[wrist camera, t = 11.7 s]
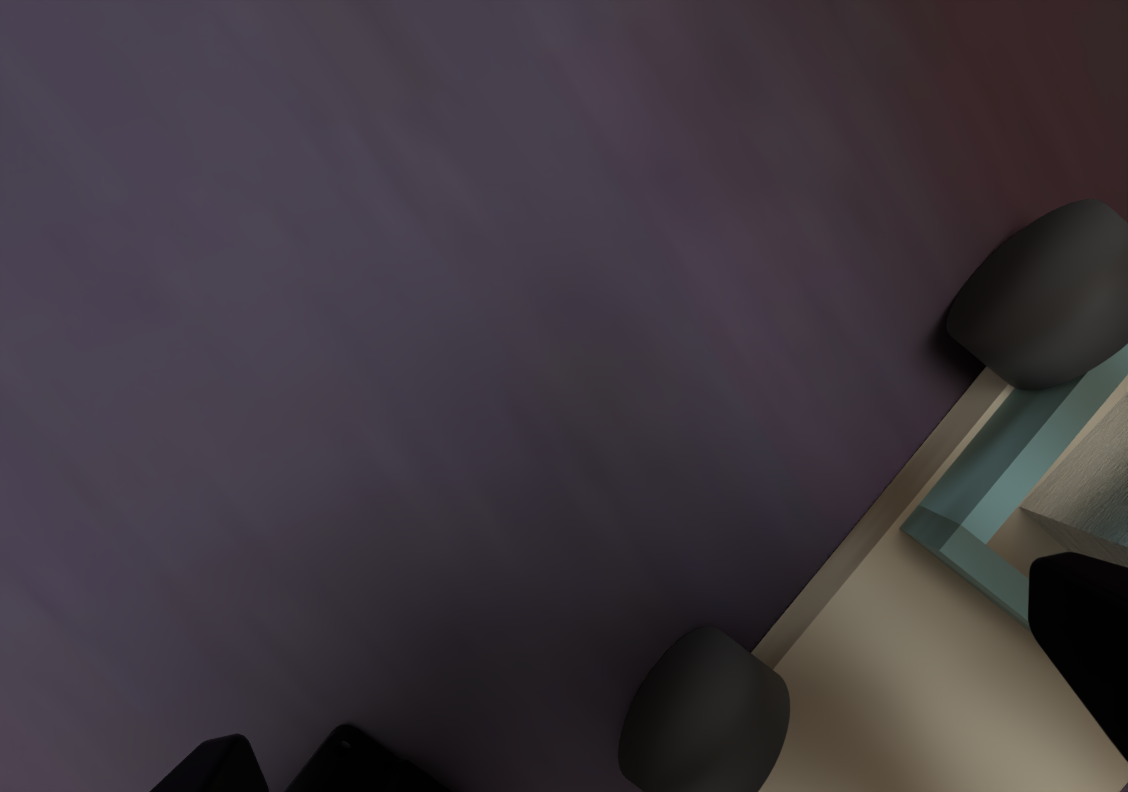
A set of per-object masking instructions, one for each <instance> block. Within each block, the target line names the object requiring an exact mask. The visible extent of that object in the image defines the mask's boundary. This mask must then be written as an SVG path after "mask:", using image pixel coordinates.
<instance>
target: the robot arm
mask: <svg viewBox="0 0 1128 792" xmlns="http://www.w3.org/2000/svg"><path fill="white" fill-rule="evenodd" d="M1028 622H1029V627H1030V630H1031V632H1032V634H1033V636H1034V638H1035V640H1036V641H1037V643H1038V644H1039V646H1040V647H1041V648H1042V650H1043V651H1044V652H1045V654H1046V655H1047V656H1048V658H1049V659H1050V660H1051V662H1052V663H1053V664H1054V666H1055V667H1056V668H1057V670H1058V671H1059V673H1060V674H1061V675H1062V677H1063V678H1064V679H1065V681H1066V682H1067V683H1068V685H1069V686H1070V687H1071V689H1072V690H1073V691H1074V693H1075V694H1076V695H1077V697H1078V698H1079V699H1080V701H1081V702H1082V703H1083V705H1084V706H1085V707H1086V709H1087V710H1088V711H1089V713H1090V714H1091V715H1092V717H1093V718H1094V719H1095V721H1096V722H1097V723H1098V725H1099V726H1100V728H1101V729H1102V730H1103V732H1104V733H1105V734H1106V736H1107V737H1108V738H1109V740H1110V741H1111V742H1112V743H1113V745H1114V746H1115V747H1116V749H1117V750H1118V751H1119V752H1120V754H1121V755H1122V756H1123V757H1124V759H1125V760H1126V761H1127V762H1128V567H1125V566H1122V565H1118V564H1115V563H1111V562H1108V561H1104V560H1101V559H1097V558H1094V557H1090V556H1087V555H1083V554H1079V553H1076V552H1062V553H1057V554H1053V555H1048V556H1043V557H1039V558H1037V559H1035V560H1034V561H1033V562H1032V564H1031V566H1030V569H1029V592H1028ZM338 741H346V742H348V743H349V744H350V746H351V749H348V750H344V749H341V748H340V747H339V746H338V744H337V742H338ZM150 792H269V789H268V786H267V783H266V781H265V778H264V776H263V774H262V771H261V769H260V766H259V764H258V762H257V759H256V757H255V755H254V752H253V750H252V747H251V745H250V743H249V741H248V739H247V738H246V737H245V736H243V735H241V734H233V735H228V736H224V737H219V738H214V739H210V740H207V741H205V742H203V743H201V744H200V745H199V746H198V747H197V748H196V749H194V750H193V751H192V752H191V753H190V754H189V755H188V756H187V757H186V758H185V759H184V760H183V761H182V762H181V763H180V764H179V765H177V766H176V767H175V768H174V769H173V770H172V771H171V772H170V773H169V774H168V775H167V776H166V777H165V778H164V779H163V780H162V781H160V782H159V783H158V784H157V785H156V786H155V787H154V788H153V789H152V790H151V791H150ZM285 792H452V791H451V790H449V789H448V788H446V787H445V786H444V785H442V784H441V783H439V782H438V781H437V780H435V779H434V778H432V777H431V776H430V775H428V774H427V773H425V772H424V771H423V770H421V769H420V768H418V767H417V766H416V765H414V764H413V763H411V762H410V761H408V760H401V759H399V758H398V757H396V756H395V755H394V754H392V753H391V752H389V751H388V750H387V749H385V748H384V747H382V746H381V745H380V744H378V743H377V742H375V741H374V740H373V739H371V738H370V737H368V736H367V735H365V734H364V733H363V732H361V731H360V730H358V729H357V728H355V727H353V726H351V725H341V726H338V727H336V728H335V729H334V730H333V731H332V732H331V733H330V734H329V736H328V737H327V738H326V739H325V741H324V742H323V743H322V744H321V746H320V747H319V748H318V750H317V751H316V752H315V753H314V755H313V756H312V757H311V758H310V760H309V761H308V762H307V764H306V765H305V766H304V767H303V769H302V770H301V771H300V772H299V774H298V775H297V776H296V778H295V779H294V780H293V781H292V783H291V784H290V785H289V786H288V788H287V789H286V790H285Z"/></svg>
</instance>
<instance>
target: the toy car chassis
mask: <svg viewBox="0 0 1128 792" xmlns="http://www.w3.org/2000/svg"><path fill="white" fill-rule="evenodd" d="M947 331H948V333H949V335H950V336H951V337H952V338H953V339H955V340H956V341H957V342H958V343H959V344H961V345H962V346H963V347H964V348H966V349H967V350H968V351H969V352H970V353H972V354H973V355H974V356H975V357H976V358H978V359H979V360H980V361H981V362H982V363H984V364H985V365H986V367H985V369H984V370H983V371H982V372H981V374H980V375H979V376H978V377H977V378H976V380H975V381H974V382H973V383H972V385H971V386H970V387H969V388H968V389H967V391H966V392H965V393H964V394H963V396H962V397H961V398H960V399H959V400H958V402H957V403H956V404H955V405H954V406H953V408H952V409H951V410H950V411H949V413H948V414H947V415H946V416H945V417H944V419H943V420H942V421H941V422H940V424H939V425H938V426H937V427H936V428H935V430H934V431H933V432H932V433H931V434H930V436H929V437H928V438H927V439H926V441H925V442H924V443H923V444H922V445H921V447H920V448H919V449H918V450H917V452H916V453H915V454H914V455H913V456H912V458H911V459H910V460H909V461H908V462H907V464H906V465H905V466H904V467H903V469H902V470H901V471H900V472H899V473H898V475H897V476H896V477H895V478H894V480H893V481H892V482H891V483H890V484H889V486H888V487H887V488H886V489H885V490H884V492H883V493H882V494H881V495H880V497H879V498H878V499H877V500H876V501H875V503H874V504H873V505H872V506H871V508H870V509H869V510H868V511H867V512H866V514H865V515H864V516H863V517H862V519H861V520H860V521H859V522H858V523H857V525H856V526H855V527H854V528H853V529H852V531H851V532H850V533H849V534H848V536H847V537H846V538H845V539H844V540H843V542H842V543H841V544H840V545H839V547H838V548H837V549H836V550H835V551H834V553H833V554H832V555H831V556H830V557H829V559H828V560H827V561H826V562H825V564H824V565H823V566H822V567H821V568H820V570H819V571H818V572H817V573H816V575H815V576H814V577H813V578H812V579H811V581H810V582H809V583H808V584H807V585H806V587H805V588H804V589H803V590H802V592H801V593H800V594H799V595H798V596H797V598H796V599H795V600H794V601H793V603H792V604H791V605H790V606H789V607H788V609H787V610H786V611H785V612H784V614H783V615H782V616H781V617H780V618H779V620H778V621H777V622H776V623H775V624H774V626H773V627H772V628H771V629H770V631H769V632H768V633H767V634H766V635H765V637H764V638H763V639H762V640H761V642H760V643H759V644H758V645H757V646H756V648H755V649H754V650H753V651H752V652H751V653H750V652H749V651H747V650H746V649H745V648H743V647H742V646H741V645H739V644H738V643H737V642H736V641H734V640H733V639H732V638H730V637H729V636H728V635H726V634H725V633H724V632H722V631H721V630H720V629H718V628H716V627H713V626H706V627H701V628H698V629H696V630H694V631H692V632H690V633H688V634H687V635H685V636H684V637H683V638H681V639H680V640H679V641H677V642H676V643H675V644H674V645H673V646H672V647H671V648H670V649H669V650H668V651H667V652H666V653H665V654H664V655H663V656H662V658H661V659H660V660H659V661H658V662H657V664H656V665H655V666H654V667H653V669H652V670H651V672H650V673H649V675H648V676H647V677H646V679H645V681H644V682H643V684H642V685H641V687H640V689H639V691H638V693H637V694H636V696H635V698H634V700H633V702H632V704H631V707H630V709H629V711H628V714H627V716H626V719H625V722H624V725H623V729H622V732H621V737H620V741H619V749H618V759H619V766H620V770H621V772H622V774H623V775H624V776H625V777H626V778H627V779H628V780H629V781H631V782H632V783H634V784H635V785H636V786H638V787H639V788H640V789H642V790H643V791H645V792H1120V791H1121V789H1122V788H1123V787H1124V786H1125V785H1126V784H1127V783H1128V762H1127V761H1126V760H1125V759H1124V757H1123V756H1122V755H1121V754H1120V752H1119V751H1118V750H1117V749H1116V747H1115V746H1114V745H1113V743H1112V742H1111V741H1110V740H1109V738H1108V737H1107V736H1106V734H1105V733H1104V732H1103V730H1102V729H1101V728H1100V726H1099V725H1098V723H1097V722H1096V721H1095V719H1094V718H1093V717H1092V715H1091V714H1090V713H1089V711H1088V710H1087V709H1086V707H1085V706H1084V705H1083V703H1082V702H1081V701H1080V699H1079V698H1078V697H1077V695H1076V694H1075V693H1074V691H1073V690H1072V689H1071V687H1070V686H1069V685H1068V683H1067V682H1066V681H1065V679H1064V678H1063V677H1062V675H1061V674H1060V673H1059V671H1058V670H1057V668H1056V667H1055V666H1054V664H1053V663H1052V662H1051V660H1050V659H1049V658H1048V656H1047V655H1046V654H1045V652H1044V651H1043V650H1042V648H1041V647H1040V646H1039V644H1038V643H1037V641H1036V640H1035V638H1034V636H1033V634H1032V632H1031V630H1030V627H1029V622H1028V592H1029V569H1030V566H1031V564H1032V562H1033V561H1034V560H1035V559H1037V558H1039V557H1043V556H1048V555H1053V554H1057V553H1062V552H1068V551H1066V550H1065V549H1064V548H1063V547H1062V546H1061V545H1060V544H1059V543H1058V542H1057V541H1056V540H1055V539H1054V538H1053V537H1051V536H1050V535H1049V534H1048V533H1047V532H1046V531H1045V530H1044V529H1043V528H1042V527H1041V526H1040V525H1039V524H1038V523H1036V522H1035V521H1034V520H1033V519H1032V518H1031V517H1030V516H1029V515H1028V514H1027V513H1026V512H1025V511H1024V510H1022V509H1021V508H1020V507H1019V506H1020V505H1021V504H1022V503H1023V502H1024V501H1025V500H1026V499H1027V498H1028V497H1029V496H1030V495H1031V494H1032V493H1033V492H1034V490H1035V489H1036V488H1037V487H1038V486H1039V485H1040V484H1041V483H1042V482H1043V481H1044V480H1045V479H1046V478H1047V477H1048V476H1049V475H1050V474H1051V472H1052V471H1053V470H1054V469H1055V468H1056V467H1057V466H1058V465H1059V464H1060V463H1061V462H1062V461H1063V460H1064V459H1065V458H1066V457H1067V456H1068V454H1069V453H1070V452H1071V451H1072V450H1073V449H1074V448H1075V447H1076V446H1077V445H1078V444H1079V443H1080V442H1081V441H1082V440H1083V439H1084V438H1085V437H1086V435H1087V434H1088V433H1089V432H1090V431H1091V430H1092V429H1093V428H1094V427H1095V426H1096V425H1097V424H1098V423H1099V422H1100V421H1101V420H1102V419H1103V417H1104V416H1105V415H1106V414H1107V413H1108V412H1109V411H1110V410H1111V409H1112V408H1113V407H1114V406H1115V405H1116V404H1117V403H1118V402H1119V401H1120V399H1121V398H1122V397H1123V396H1124V395H1125V394H1126V393H1127V392H1128V223H1127V222H1126V221H1125V220H1124V219H1122V218H1121V217H1120V216H1119V215H1118V214H1117V213H1116V212H1114V211H1113V210H1112V209H1111V208H1110V207H1109V206H1107V205H1106V204H1105V203H1104V202H1102V201H1100V200H1095V199H1086V200H1081V201H1076V202H1073V203H1070V204H1067V205H1064V206H1062V207H1060V208H1057V209H1055V210H1053V211H1051V212H1049V213H1047V214H1046V215H1044V216H1042V217H1040V218H1039V219H1037V220H1035V221H1034V222H1032V223H1031V224H1029V225H1028V226H1026V227H1025V228H1023V229H1022V230H1020V231H1019V232H1018V233H1016V234H1015V235H1014V236H1012V237H1011V238H1010V239H1009V240H1008V241H1006V242H1005V243H1004V244H1003V245H1001V246H1000V247H999V248H998V249H997V250H996V251H995V252H994V253H993V254H992V255H991V256H990V257H988V258H987V259H986V260H985V261H984V262H983V264H982V265H981V266H980V267H979V268H978V269H977V270H976V271H975V272H974V274H973V275H972V276H971V277H970V278H969V280H968V281H967V282H966V283H965V285H964V286H963V288H962V289H961V291H960V292H959V293H958V295H957V297H956V299H955V300H954V302H953V304H952V306H951V309H950V311H949V314H948V318H947Z"/></svg>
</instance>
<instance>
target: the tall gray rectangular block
mask: <svg viewBox="0 0 1128 792" xmlns="http://www.w3.org/2000/svg"><path fill="white" fill-rule="evenodd" d="M1019 507H1020V508H1021V509H1022V510H1024V511H1025V512H1026V513H1027V514H1028V515H1029V516H1030V517H1031V518H1032V519H1033V520H1034V521H1035V522H1036V523H1038V524H1039V525H1040V526H1041V527H1042V528H1043V529H1044V530H1045V531H1046V532H1047V533H1048V534H1049V535H1050V536H1051V537H1053V538H1054V539H1055V540H1056V541H1057V542H1058V543H1059V544H1060V545H1061V546H1062V547H1063V548H1064V549H1065V550H1066V551H1068V552H1076V553H1079V554H1083V555H1087V556H1090V557H1094V558H1097V559H1101V560H1104V561H1108V562H1111V563H1115V564H1118V565H1122V566H1125V567H1128V392H1127V393H1126V394H1125V395H1124V396H1123V397H1122V398H1121V399H1120V401H1119V402H1118V403H1117V404H1116V405H1115V406H1114V407H1113V408H1112V409H1111V410H1110V411H1109V412H1108V413H1107V414H1106V415H1105V416H1104V417H1103V419H1102V420H1101V421H1100V422H1099V423H1098V424H1097V425H1096V426H1095V427H1094V428H1093V429H1092V430H1091V431H1090V432H1089V433H1088V434H1087V435H1086V437H1085V438H1084V439H1083V440H1082V441H1081V442H1080V443H1079V444H1078V445H1077V446H1076V447H1075V448H1074V449H1073V450H1072V451H1071V452H1070V453H1069V454H1068V456H1067V457H1066V458H1065V459H1064V460H1063V461H1062V462H1061V463H1060V464H1059V465H1058V466H1057V467H1056V468H1055V469H1054V470H1053V471H1052V472H1051V474H1050V475H1049V476H1048V477H1047V478H1046V479H1045V480H1044V481H1043V482H1042V483H1041V484H1040V485H1039V486H1038V487H1037V488H1036V489H1035V490H1034V492H1033V493H1032V494H1031V495H1030V496H1029V497H1028V498H1027V499H1026V500H1025V501H1024V502H1023V503H1022V504H1021V505H1020V506H1019Z"/></svg>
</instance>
